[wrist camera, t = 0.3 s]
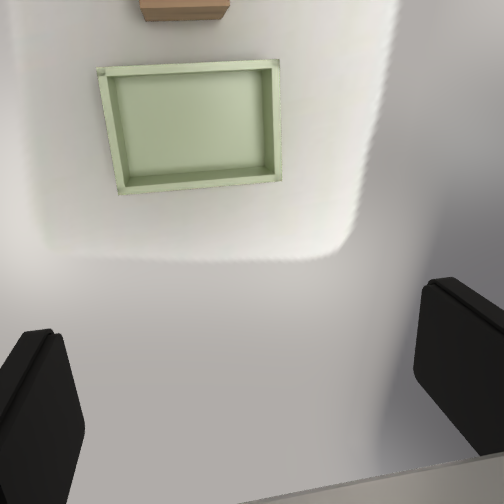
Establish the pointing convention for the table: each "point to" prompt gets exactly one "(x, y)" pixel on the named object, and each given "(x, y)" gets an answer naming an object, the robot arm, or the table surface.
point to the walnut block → (183, 9)
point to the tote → (193, 124)
